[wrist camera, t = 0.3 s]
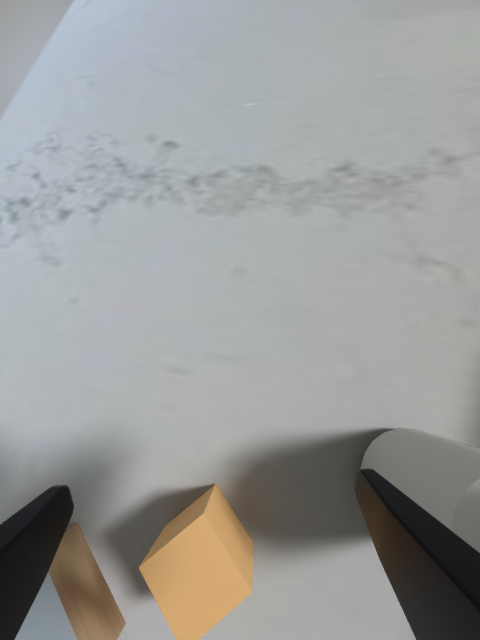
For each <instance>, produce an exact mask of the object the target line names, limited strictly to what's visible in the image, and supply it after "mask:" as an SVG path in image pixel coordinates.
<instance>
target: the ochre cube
mask: <svg viewBox="0 0 480 640" xmlns="http://www.w3.org/2000/svg"><path fill="white" fill-rule="evenodd" d="M138 568H139V570H140V572H141V574H142V575H143V577H144V579H145V581H146V583H147V585H148V587H149V589H150V591H151V593H152V595H153V596H154V598H155V600H156V602H157V604H158V606H159V608H160V610H161V612H162V614H163V616H164V617H165V619H166V621H167V623H168V625H169V627H170V629H171V631H172V633H173V635H174V637H175V638H176V640H199V639H200V638H201V637H202V636H203V635H204V634H206V633H207V632H208V631H209V630H210V629H211V628H212V627H213V626H215V625H216V624H217V623H218V622H219V621H220V620H221V619H222V618H224V617H225V616H226V615H227V614H228V613H229V612H230V611H231V610H233V609H234V608H235V607H236V606H237V605H238V604H239V603H240V602H242V601H243V600H244V599H245V598H246V597H247V596H248V595H249V594H251V593H252V573H253V541H252V539H251V538H250V536H249V535H248V533H247V531H246V530H245V528H244V527H243V525H242V524H241V522H240V521H239V519H238V517H237V516H236V514H235V513H234V511H233V510H232V508H231V507H230V505H229V503H228V502H227V500H226V499H225V497H224V496H223V494H222V493H221V491H220V489H219V488H218V486H217V485H216V484H215V485H214V486H212V487H211V488H210V489H209V490H208V491H206V492H205V493H204V494H203V495H201V496H200V497H199V498H198V499H197V500H195V501H194V502H193V503H192V504H191V505H189V506H188V507H187V508H186V509H184V510H183V511H182V512H181V513H180V514H178V515H177V516H176V517H175V518H174V519H172V520H171V521H170V522H169V523H168V524H166V525H165V527H164V529H163V530H162V532H161V533H160V535H159V536H158V538H157V539H156V541H155V543H154V544H153V546H152V547H151V549H150V550H149V552H148V553H147V555H146V557H145V558H144V560H143V561H142V563H141V564H140V566H139V567H138Z"/></svg>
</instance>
